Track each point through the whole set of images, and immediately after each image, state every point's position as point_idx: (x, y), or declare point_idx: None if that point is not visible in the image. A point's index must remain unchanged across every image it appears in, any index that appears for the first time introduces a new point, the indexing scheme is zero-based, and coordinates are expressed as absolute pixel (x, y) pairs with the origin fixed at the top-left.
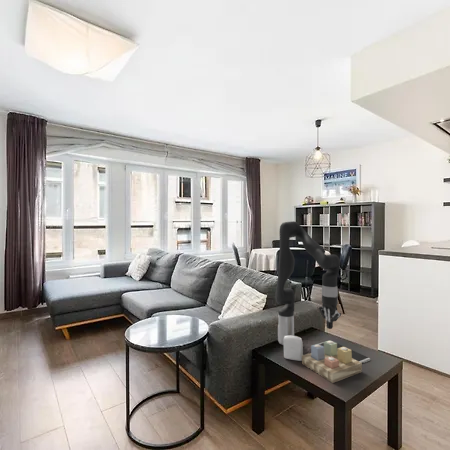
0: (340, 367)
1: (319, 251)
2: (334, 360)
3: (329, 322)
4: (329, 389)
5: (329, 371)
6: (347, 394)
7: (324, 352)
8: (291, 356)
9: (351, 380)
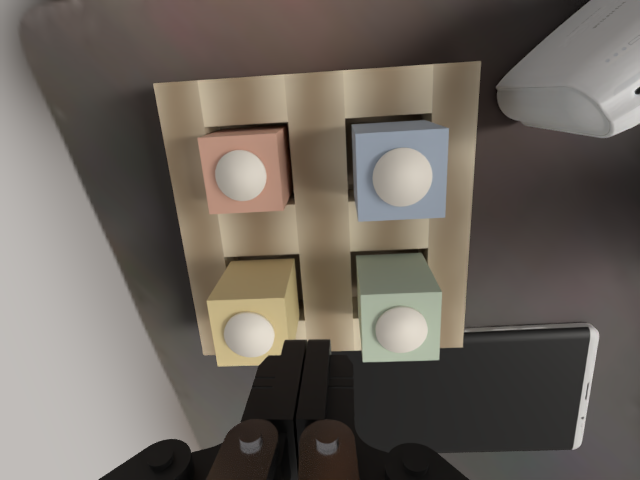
0: (202, 198)
1: None
2: (217, 182)
3: (268, 419)
4: (126, 9)
5: (182, 83)
6: (53, 76)
7: (417, 255)
8: (569, 22)
9: (168, 211)
